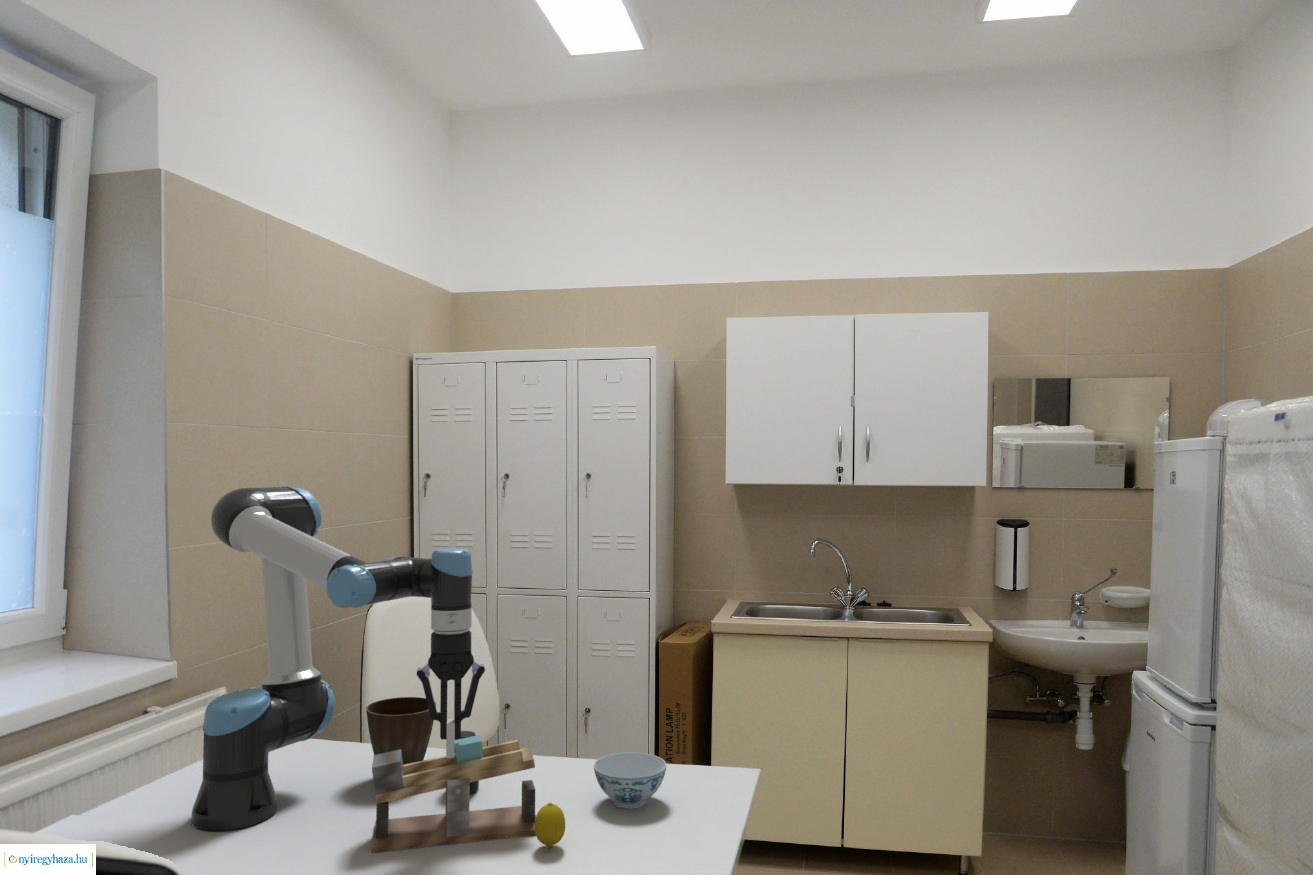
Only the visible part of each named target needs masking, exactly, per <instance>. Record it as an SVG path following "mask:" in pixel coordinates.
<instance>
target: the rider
mask: <svg viewBox="0 0 1313 875" xmlns="http://www.w3.org/2000/svg"><path fill="white" fill-rule="evenodd" d="M482 747H483V742H482V736H481V734H478V735H475V736H472V737H467V738H463V739H458V740H455V753H456V760H457V763H462V762H466V761H471V760H475V759H480V758H484V756H483V748H482Z"/></svg>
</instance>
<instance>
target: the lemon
mask: <svg viewBox="0 0 1313 875" xmlns="http://www.w3.org/2000/svg"><path fill="white" fill-rule="evenodd" d="M565 831H566V818H565V814H564V811H563V810H562V809H561V807H559V806H558V805H557V804H553V802H548V803H547V804H545V805H543V806H541V808H540V809H539V810H538V811H537V814H536V820H535V833H536V835H535V836H536V840H538V842H540V843H541V844H542V845H545V846H546V847H547V848H549V849H550V848H553V846H554V845H556V844H557V845H558V843H559V842H560V841H561V840H563V839H562V838H563V837H564V835H565Z"/></svg>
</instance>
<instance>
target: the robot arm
mask: <svg viewBox="0 0 1313 875" xmlns="http://www.w3.org/2000/svg"><path fill="white" fill-rule="evenodd" d="M210 520H211V521H210V522H211V523H210V524H211V527H212V531H213V532H214V535H215V536H216V537H217V538H218V540H219V541H221V542H222V543H223V544H225V546H227V547H230V548H232V549H234V550H235V551H237V552H240V553H250V552H252V553H253V554H254V555H256V557H258V558H260V560H261V570H262V571H261V572H262V583H263V600H264V615H265V617H264V618H265V631H266V632H265V633H266V644H267V645H266V646H267V647H266V649H267V663H268V673H267V675H266V676H265V678H264V679H263V680H262V681H261V688H257V687H256V688H255V687H253V688H251V687H250V688H245V689H242V690H234V691H230V692H227V693H224V694H222V695H220V696H217V697H216V698H214V699H213V700H211V701H210V702H209V703H208V705H207V706H206V709H205V710H204V717H203V718H204V719H203V720H204V721H203V725H202V731H203V746H202V747H203V750H202V751H203V753H202V760H203V761H202V781H201V784H200V787H199V789H198V793H197V796H196V799H195V801H194V804H193V806H192V810H191V825H192V824H193V825H194V826H195V828H196V827H197V828H196V829H198V828H199V830H202V829H203V831H210V832H213V831H214V832H221V831H223V832H224V831H233V830H238V828H239V829H242V828H243V827H244V828H247V827H251V826H255V825H257V824H259V822H260V823H262V822H264V821H266V820H268V819H270V818H272V816H274V815H275V814H276V813H277V810H278V797H277V794H276V791H275V787H274V785H273V782H272V778H271V776H270V774H269V752H273V751H276V750H278V749H279V750H280V749H282V748H284V747H287V746H290V745H294V744H297V743H299V742H305V741H308V740H310V739H311V738H313V737H315V736H317V735H319V734H321V733H322V732H324V731H325V730H326V728H327V727H328V726H329V725H330V723H331V721H332V720H333V717H334V714H335V708H336V699H335V694H334V691H333V689H330V687H331V686H330V685H329V683H328V682H327V681H325V680H323V679H322V675H321V674H322V673H321V671H319V670H318V669H317V668H315V667H314V665H313V657H312V655H313V654H312V640H311V626H310V624H311V623H310V612H309V597H308V584H307V581H309V582H311V583H313V584H315V585H317V586H319V587H321V588H323V589H324V590H326V594H327V596H328V598H329V599H330V600H331V603H332V604H333V605H334V606H335V607H338V608H340V609H347V608H353V609H355V608H362V607H363V606H368V605H369V606H370V605H372V604H378V603H383V602H387V601H393V600H399V599H404V598H410V597H413V598H415V597H416V598H427V599H428V598H430V602H431V603H430V605H431V607H430V608H431V609H430V612H431V613H430V615H431V616H430V621H431V622H430V628H431V630H432V633H431V634H430V656H429V658H428V660H427V663H426V664H425V665H423V666H421V667H418V668H417V669H416V676H417V678H418V679H419V680H420V682H421V683H422V687H423V691H424V697H425V698H426V700H427V705H428V709H429V713H430V717H431V719H432V720H434V721H436V722H437V721H438V723H439V724H440V725H439V726H440V728H439V736H440V737H439V738H440V740H443V741H444V740H445V742H446V744H445V745H446V746H445V754H446V755H445V756H446V758H455V738H460V736H461V731H462V721H463V720H464V719H466V718H470V717H471V715H472V711H473V708H474V703H475V698H476V695H477V691H478V686H479V684H480V683H479V682H480V679H481V677H482V676H483V674H484V673H485V672H486V668H485V664H483V663H478V662H477V661H476V660H475V659H474V656H473V654H472V632H471V630H470V629H471V628H472V585H473V584H472V583H473V582H472V581H473V572H474V571H473V567H472V564H473V563H472V562H473V561H472V554H471V552H470V550H468V549H466V548H440V549H438V548H437V549H434V550H433V552H432V553H431V558H422V557H411V556H405V555H404V556H393V557H389V558H387V560H384V561H383V560H382V561H374V562H367V561H364V560H362V559H360V558H358V557H356V556H354V555H352V554H349V553H347V552H345V551H343V550H341V549H338V548H337V547H334V546H332V545H330V544H328V543H326V542H324V541H322V540H320V539H318V538H316V537H314V536H316V535H317V534H318V533H319V531H320V529H319V528H321V526H322V522H323V521H322V510H321V507H320V504H319V502H318V500H317V499H316V497H315V496H314V495H312V494H311V492H310V491H308V490H307V489H304V488H302V487H293V486H276V487H275V486H274V487H272V486H271V487H243V488H242V487H241V488H238V489H234V490H231V491H229V492H227V493H225V494H224V495H223V496H222V497H221V498H219V499H218V501H217V502H216V504H215V505H214V506H213V509H212V511H211V517H210ZM430 670H431V671H432V672H433V673H434V675H435V676H436V678H438V679H439V680H440V704H439V705H440V706H439V707H440V708H439V710H440V711H437V705H436V706H435V702H436V701H435V699H434V694H433V690H432V686H431V682H430V679H429V677H431V676H430V675H431V672H430ZM469 670H471V673H472V677H471V679H470V680H471V681H470V685H469V688H468V693H467V697H466V702H465V705H464V709H462V679H463V678H465V676H466V675H467V673H468V672H469ZM448 681H453V682H454V684H453V686H454V694H453V695H454V696H453V701H454V704H453V705H454V706H453V707H454V708H453V710H454V711H453V712H454V713H453V715H454V716H453V718H448ZM434 701H435V702H434ZM273 814H274V815H273ZM256 823H257V824H256ZM193 825H192V826H193ZM194 826H193V827H194ZM232 829H233V830H232Z"/></svg>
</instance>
